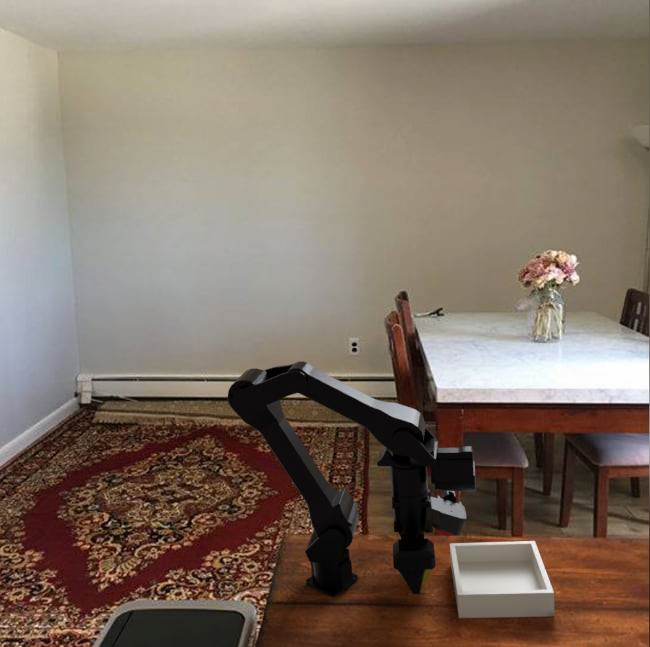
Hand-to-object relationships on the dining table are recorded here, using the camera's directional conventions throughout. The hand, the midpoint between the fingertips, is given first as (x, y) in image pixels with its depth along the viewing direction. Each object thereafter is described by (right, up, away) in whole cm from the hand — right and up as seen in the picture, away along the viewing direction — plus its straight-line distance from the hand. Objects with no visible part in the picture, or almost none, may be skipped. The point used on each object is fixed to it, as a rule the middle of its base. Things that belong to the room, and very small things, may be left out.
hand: (415, 576), depth 113 cm
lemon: (0, -2, 0) cm, 2 cm away
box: (+13, -1, -2) cm, 13 cm away
